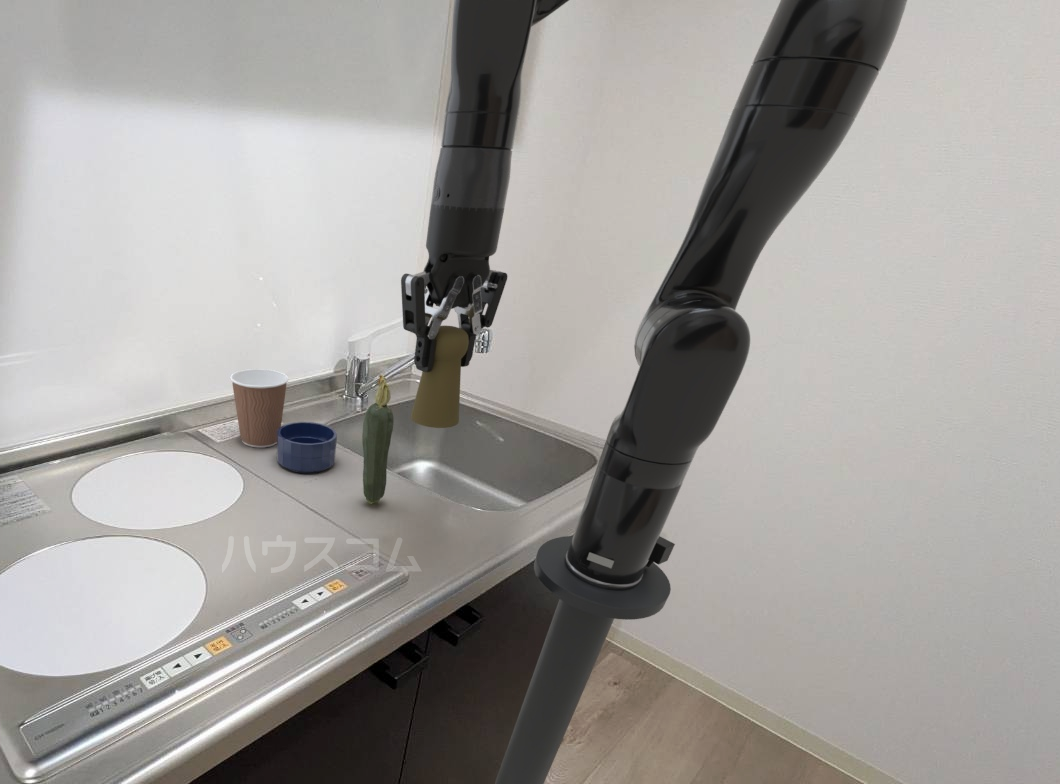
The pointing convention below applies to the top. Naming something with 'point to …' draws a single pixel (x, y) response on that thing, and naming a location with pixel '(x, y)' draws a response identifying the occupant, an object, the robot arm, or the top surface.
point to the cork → (442, 381)
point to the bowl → (306, 446)
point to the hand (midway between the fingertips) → (442, 367)
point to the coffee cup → (259, 405)
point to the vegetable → (377, 443)
